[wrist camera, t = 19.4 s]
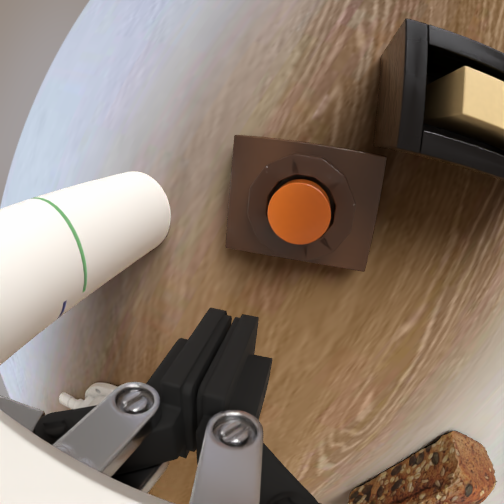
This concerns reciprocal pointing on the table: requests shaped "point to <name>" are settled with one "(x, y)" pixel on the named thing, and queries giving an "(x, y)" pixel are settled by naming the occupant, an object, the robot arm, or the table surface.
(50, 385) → the table surface
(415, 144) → the toaster
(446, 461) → the bread
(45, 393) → the table surface
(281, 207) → the button
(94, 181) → the cylindrical container
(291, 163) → the control block
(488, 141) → the toast
